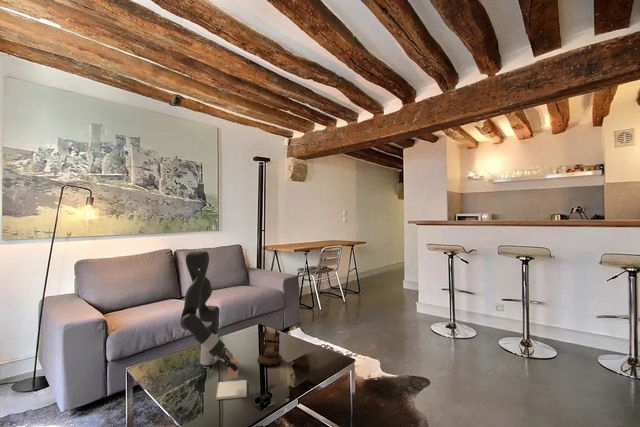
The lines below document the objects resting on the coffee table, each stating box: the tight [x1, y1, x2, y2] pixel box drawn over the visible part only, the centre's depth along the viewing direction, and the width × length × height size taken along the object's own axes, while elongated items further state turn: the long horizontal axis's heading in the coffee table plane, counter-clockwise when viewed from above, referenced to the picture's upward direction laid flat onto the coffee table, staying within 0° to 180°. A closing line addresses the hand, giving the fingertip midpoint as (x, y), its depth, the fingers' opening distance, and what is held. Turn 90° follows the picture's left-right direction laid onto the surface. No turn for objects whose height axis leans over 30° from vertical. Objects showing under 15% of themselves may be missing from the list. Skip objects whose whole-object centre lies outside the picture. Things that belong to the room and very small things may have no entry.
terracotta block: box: [226, 357, 240, 380], centre depth 157 cm, size 5×5×8 cm
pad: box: [215, 379, 248, 401], centre depth 156 cm, size 14×14×1 cm
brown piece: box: [257, 328, 283, 366], centre depth 190 cm, size 15×15×20 cm
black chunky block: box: [253, 393, 272, 412], centre depth 145 cm, size 12×7×5 cm, turn 133°
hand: (236, 367), depth 157 cm, fingers closed on terracotta block, 5 cm apart
